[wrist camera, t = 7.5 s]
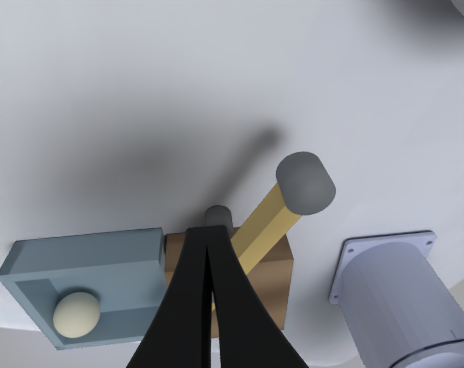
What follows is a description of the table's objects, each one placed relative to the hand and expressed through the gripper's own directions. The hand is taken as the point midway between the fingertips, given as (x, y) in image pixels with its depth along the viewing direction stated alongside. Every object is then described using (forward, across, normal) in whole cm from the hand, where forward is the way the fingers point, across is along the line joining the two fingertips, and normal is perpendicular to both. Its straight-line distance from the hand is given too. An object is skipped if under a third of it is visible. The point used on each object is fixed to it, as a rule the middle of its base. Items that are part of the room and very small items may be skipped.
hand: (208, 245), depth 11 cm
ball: (+9, +11, +15) cm, 21 cm away
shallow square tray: (+9, +9, +14) cm, 19 cm away
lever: (+5, 0, +8) cm, 9 cm away
